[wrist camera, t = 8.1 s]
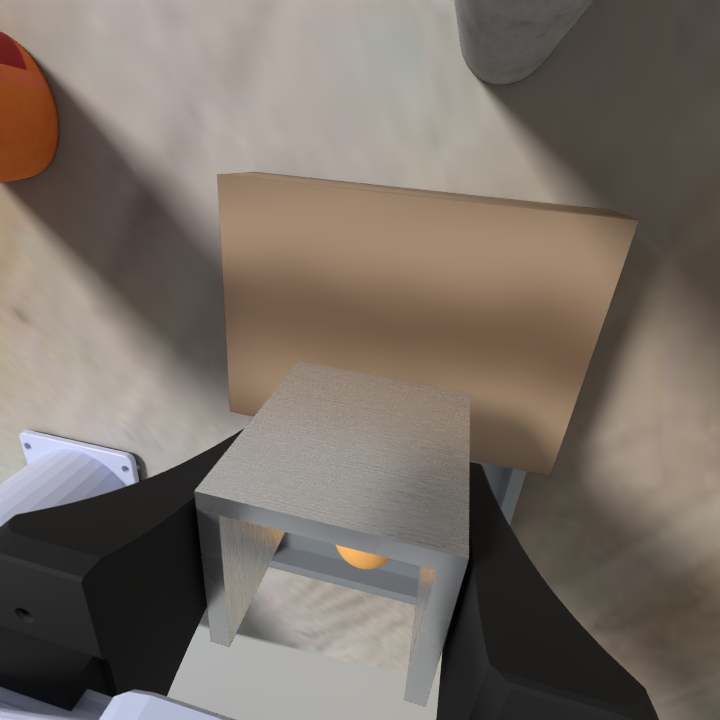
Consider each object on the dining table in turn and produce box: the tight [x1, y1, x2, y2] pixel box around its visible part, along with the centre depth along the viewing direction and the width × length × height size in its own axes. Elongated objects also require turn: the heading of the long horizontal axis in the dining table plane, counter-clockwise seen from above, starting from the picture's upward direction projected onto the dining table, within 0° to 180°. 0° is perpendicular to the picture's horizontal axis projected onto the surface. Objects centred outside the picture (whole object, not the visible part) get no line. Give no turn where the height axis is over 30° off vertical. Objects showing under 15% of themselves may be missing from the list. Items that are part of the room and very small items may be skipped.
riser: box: [217, 172, 639, 476], centre depth 18 cm, size 10×14×3 cm
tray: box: [268, 460, 527, 605], centre depth 23 cm, size 11×13×2 cm
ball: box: [336, 545, 390, 569], centre depth 23 cm, size 3×3×3 cm
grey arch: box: [194, 362, 470, 707], centre depth 12 cm, size 5×5×6 cm
